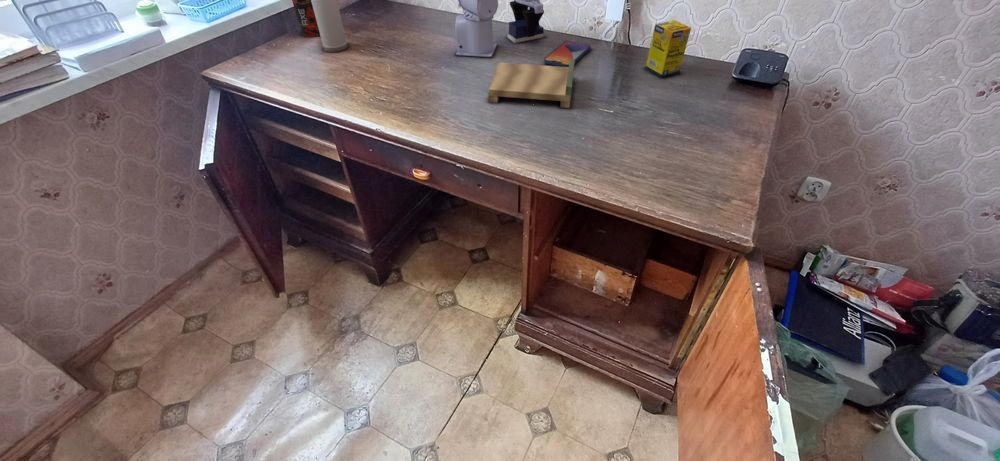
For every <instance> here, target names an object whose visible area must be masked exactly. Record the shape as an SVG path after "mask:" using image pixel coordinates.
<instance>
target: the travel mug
mask: <svg viewBox="0 0 1000 461" xmlns="http://www.w3.org/2000/svg"><path fill="white" fill-rule="evenodd" d="M311 2H312V5H313V9H314V13H315V17H316V21H317V24H318V28H319V32H320V35H319V36H320V40H321V43H322V46H323V50H324V51H326V52H329V53H338V52H342V51H345V50H347V48H348V47H349V46H348V45H349V44H348V40H347V36H346V32H345V27H344V23H343V19H342V15H341V11H340V6H339V2H338V0H311Z"/></svg>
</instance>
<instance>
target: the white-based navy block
mask: <svg viewBox="0 0 1000 461" xmlns="http://www.w3.org/2000/svg"><path fill="white" fill-rule="evenodd" d="M544 28H545V27H543V26H542V25H540V22H539V23H538V26H537V29H536V33H535V36H532V37H527V34H526V22H525V19H524V20H518V21H515V20H513V21H508V33H507V38H508V39H509V41H511V42H513V44H517V43H522V42H527V41H532V40H536V39H537V40H538V39H542V38H544V37H545V33H544Z"/></svg>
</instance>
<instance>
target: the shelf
mask: <svg viewBox="0 0 1000 461" xmlns="http://www.w3.org/2000/svg"><path fill="white" fill-rule="evenodd" d="M575 64H576V63H575V59H570V62H569V67H560V66H556V65H543V64H542V65H541V64H527V63H512V62H511V63H510V62H498V64H497V67H496V69H495V72H494V74H493V76H492V80H491V82H490V84H489V87H488V102H489V103H498V102H499V100H500V97H501V98H502V97H503V98H515V99H529V100H541V101H542V100H543V101H544V100H545V101H554V102H560V108H564V109H570V108H571V98H572V91H573V90H572V89H573V83H574V72H575Z"/></svg>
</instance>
